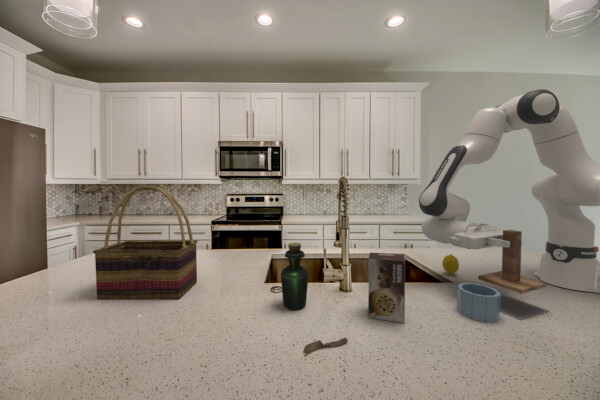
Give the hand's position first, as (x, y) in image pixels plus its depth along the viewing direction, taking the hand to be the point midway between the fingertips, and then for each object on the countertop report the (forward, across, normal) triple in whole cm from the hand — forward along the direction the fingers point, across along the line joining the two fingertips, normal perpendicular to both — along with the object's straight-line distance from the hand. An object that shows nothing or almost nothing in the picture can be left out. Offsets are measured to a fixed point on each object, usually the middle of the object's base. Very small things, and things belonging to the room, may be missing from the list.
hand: (515, 243), depth 70 cm
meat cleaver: (-4, -59, +18) cm, 61 cm away
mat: (-1, -1, +18) cm, 19 cm away
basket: (-51, -99, +16) cm, 112 cm away
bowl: (-1, -14, +18) cm, 23 cm away
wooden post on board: (-1, 0, +12) cm, 12 cm away
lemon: (-26, +8, +19) cm, 33 cm away
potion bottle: (-24, -58, +17) cm, 65 cm away
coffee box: (-10, -37, +18) cm, 42 cm away
